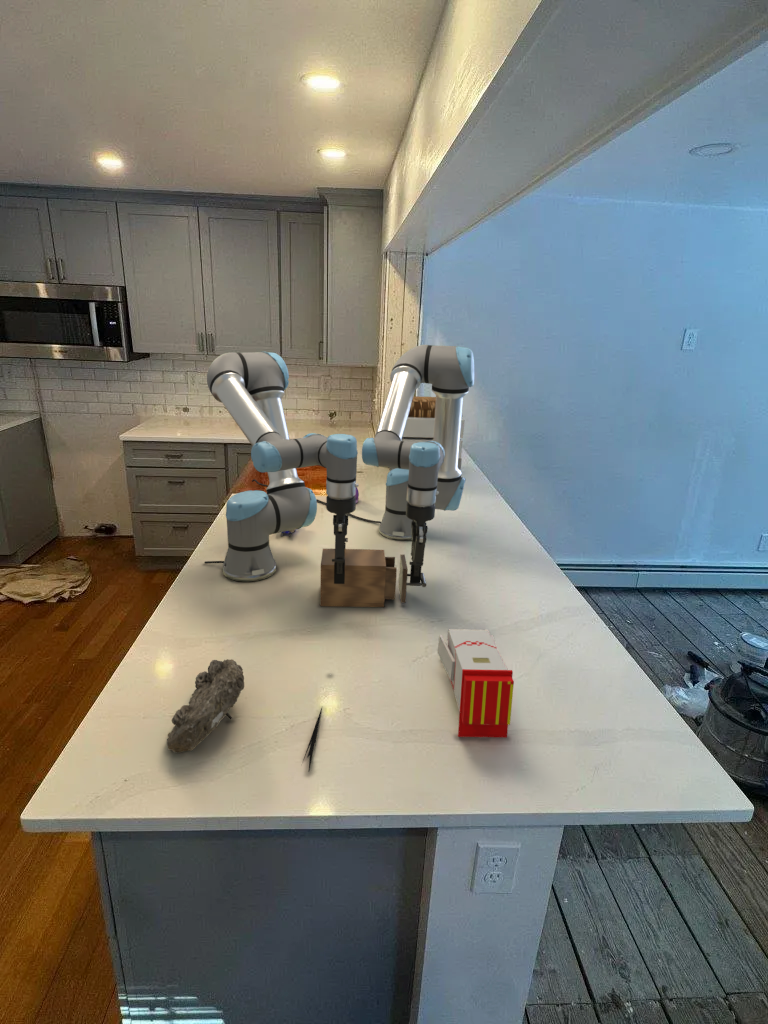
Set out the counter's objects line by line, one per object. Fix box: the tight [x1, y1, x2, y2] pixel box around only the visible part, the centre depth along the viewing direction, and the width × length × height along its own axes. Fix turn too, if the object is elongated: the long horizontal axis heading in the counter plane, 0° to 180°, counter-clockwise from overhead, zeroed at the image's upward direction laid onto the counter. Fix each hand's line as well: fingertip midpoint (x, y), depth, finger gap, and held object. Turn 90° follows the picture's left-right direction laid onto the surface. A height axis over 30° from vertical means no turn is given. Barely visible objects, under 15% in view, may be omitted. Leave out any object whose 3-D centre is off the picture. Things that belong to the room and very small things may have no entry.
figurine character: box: [280, 529, 296, 538], centre depth 196 cm, size 7×8×15 cm
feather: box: [301, 673, 332, 771], centre depth 108 cm, size 2×28×2 cm
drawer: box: [384, 554, 428, 604], centre depth 154 cm, size 21×9×10 cm, turn 93°
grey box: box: [389, 395, 465, 472], centre depth 268 cm, size 34×33×41 cm
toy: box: [437, 628, 515, 738], centre depth 117 cm, size 12×13×30 cm
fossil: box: [166, 658, 245, 754], centre depth 106 cm, size 22×10×15 cm
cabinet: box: [319, 548, 386, 608], centre depth 153 cm, size 17×10×12 cm, turn 93°
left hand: (339, 573), depth 152 cm, fingers closed on cabinet, 10 cm apart
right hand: (414, 584), depth 155 cm, fingers closed
